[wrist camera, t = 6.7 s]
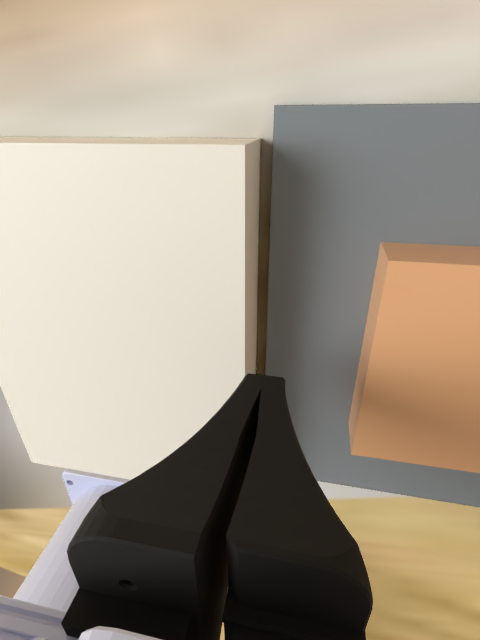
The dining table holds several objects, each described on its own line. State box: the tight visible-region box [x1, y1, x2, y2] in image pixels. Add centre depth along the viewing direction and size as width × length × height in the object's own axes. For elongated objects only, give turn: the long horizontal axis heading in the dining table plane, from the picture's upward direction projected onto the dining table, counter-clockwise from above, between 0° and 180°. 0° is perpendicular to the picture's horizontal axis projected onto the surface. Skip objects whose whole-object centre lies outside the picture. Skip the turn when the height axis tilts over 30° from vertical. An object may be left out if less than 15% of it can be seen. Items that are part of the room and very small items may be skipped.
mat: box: [265, 103, 480, 507], centre depth 16 cm, size 18×12×1 cm, turn 0°
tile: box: [349, 242, 480, 473], centre depth 14 cm, size 9×6×2 cm, turn 1°
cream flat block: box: [0, 137, 261, 480], centre depth 17 cm, size 16×12×3 cm
